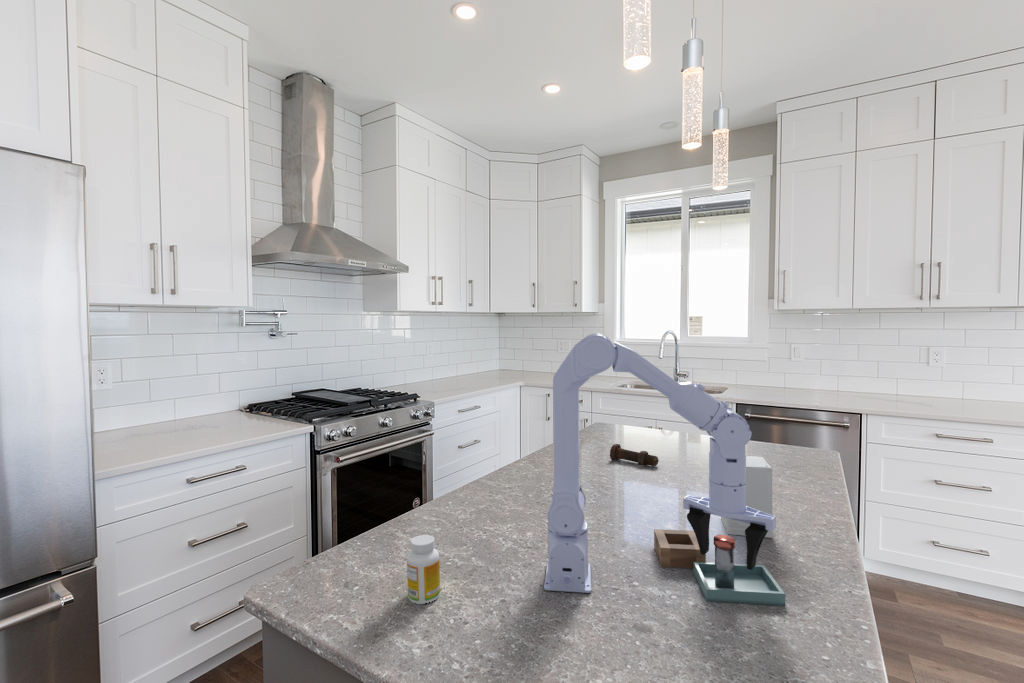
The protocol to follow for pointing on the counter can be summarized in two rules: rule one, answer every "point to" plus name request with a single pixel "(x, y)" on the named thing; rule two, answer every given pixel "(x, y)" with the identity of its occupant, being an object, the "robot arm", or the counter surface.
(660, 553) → the bore block
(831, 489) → the counter surface
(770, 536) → the supplement box
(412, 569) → the supplement bottle
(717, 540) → the red capped cylinder
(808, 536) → the counter surface
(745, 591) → the tray
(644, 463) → the bolt
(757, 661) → the counter surface
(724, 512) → the robot arm
